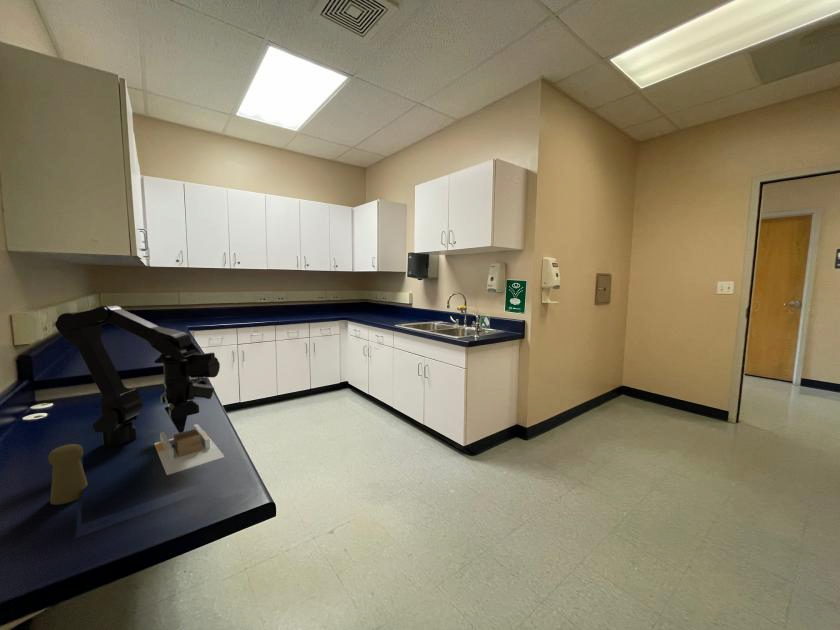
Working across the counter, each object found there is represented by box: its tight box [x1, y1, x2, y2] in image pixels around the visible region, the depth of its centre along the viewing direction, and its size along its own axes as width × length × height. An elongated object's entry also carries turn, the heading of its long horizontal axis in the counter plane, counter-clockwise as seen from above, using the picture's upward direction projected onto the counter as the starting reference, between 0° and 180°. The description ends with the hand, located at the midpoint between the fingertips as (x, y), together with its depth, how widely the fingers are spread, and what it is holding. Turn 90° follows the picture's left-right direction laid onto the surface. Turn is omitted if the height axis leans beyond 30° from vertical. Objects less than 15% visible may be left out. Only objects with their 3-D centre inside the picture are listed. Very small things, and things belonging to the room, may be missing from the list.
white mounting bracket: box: [153, 423, 225, 476], centre depth 92 cm, size 22×12×4 cm, turn 44°
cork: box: [47, 443, 89, 506], centre depth 74 cm, size 6×6×11 cm
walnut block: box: [173, 428, 201, 457], centre depth 91 cm, size 6×5×4 cm
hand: (181, 432), depth 97 cm, fingers closed
